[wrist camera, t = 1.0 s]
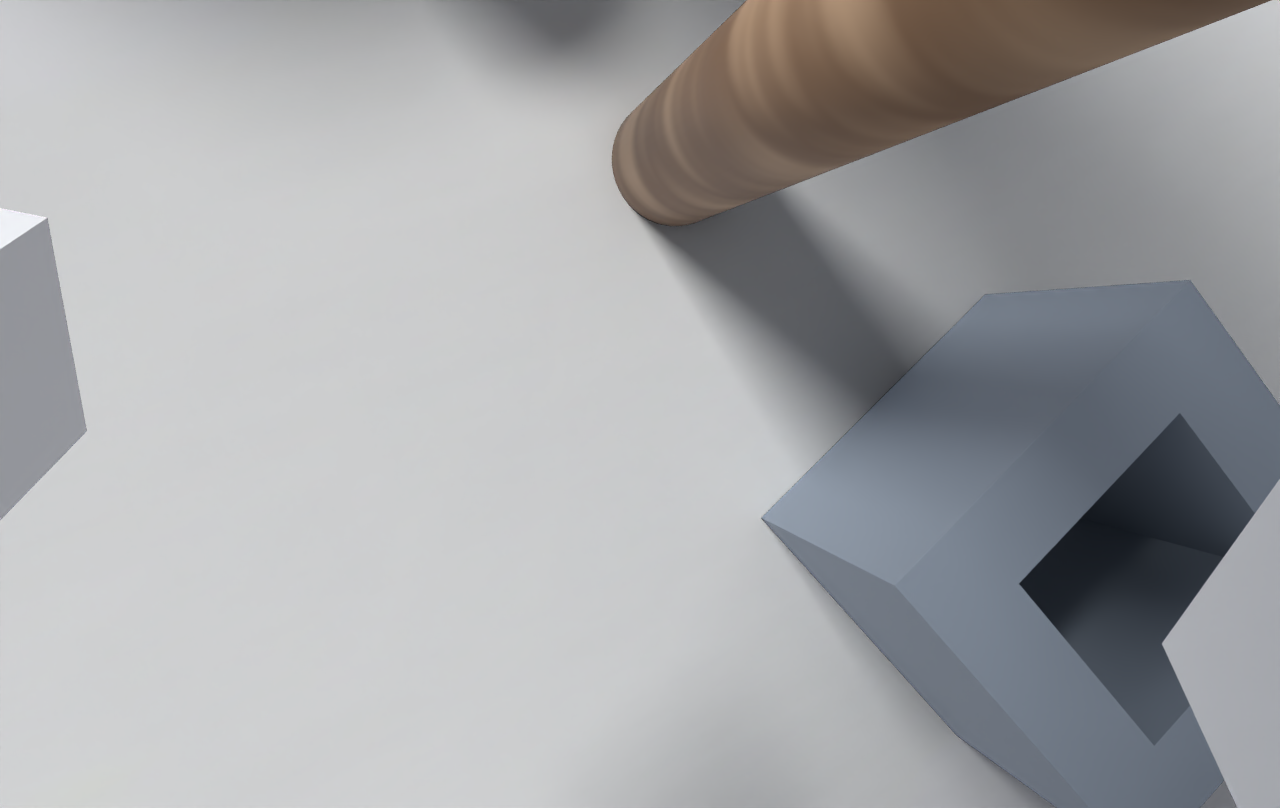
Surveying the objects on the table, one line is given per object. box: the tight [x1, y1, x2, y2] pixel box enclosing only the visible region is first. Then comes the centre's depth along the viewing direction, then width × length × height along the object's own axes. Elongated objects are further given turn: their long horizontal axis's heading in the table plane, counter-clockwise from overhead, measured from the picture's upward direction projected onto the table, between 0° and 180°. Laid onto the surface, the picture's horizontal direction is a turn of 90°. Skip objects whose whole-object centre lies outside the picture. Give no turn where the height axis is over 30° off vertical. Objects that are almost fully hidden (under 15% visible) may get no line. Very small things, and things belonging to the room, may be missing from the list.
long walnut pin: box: [612, 0, 1271, 226], centre depth 20 cm, size 4×4×22 cm
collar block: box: [762, 280, 1280, 808], centre depth 30 cm, size 11×11×9 cm
